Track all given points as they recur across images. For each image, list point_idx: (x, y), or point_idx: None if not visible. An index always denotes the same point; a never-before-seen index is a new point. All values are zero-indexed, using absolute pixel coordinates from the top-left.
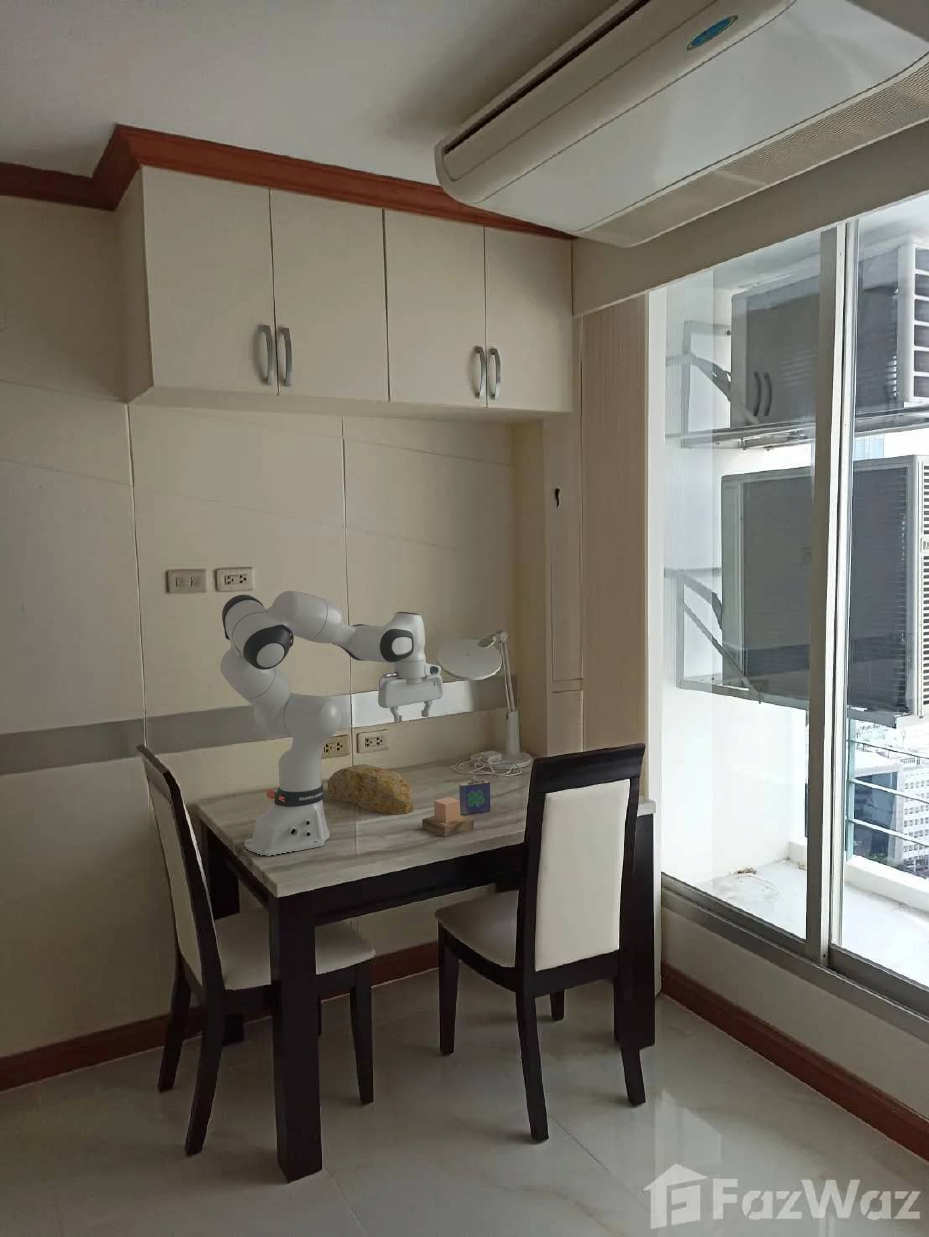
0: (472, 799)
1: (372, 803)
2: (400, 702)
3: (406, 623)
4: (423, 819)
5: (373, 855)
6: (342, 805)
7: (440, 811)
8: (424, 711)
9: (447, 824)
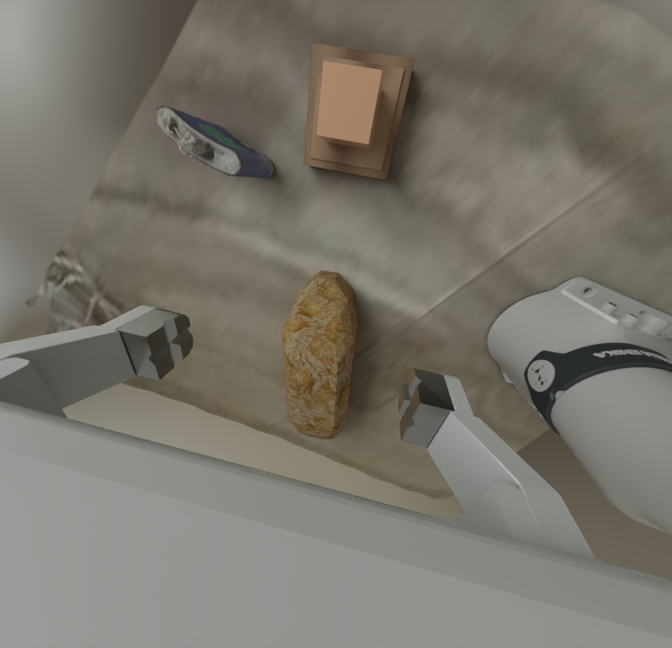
0: (234, 145)
1: (355, 338)
2: (579, 645)
3: None
4: (386, 175)
5: (616, 127)
6: (364, 380)
7: (376, 112)
8: (150, 342)
9: (392, 71)
